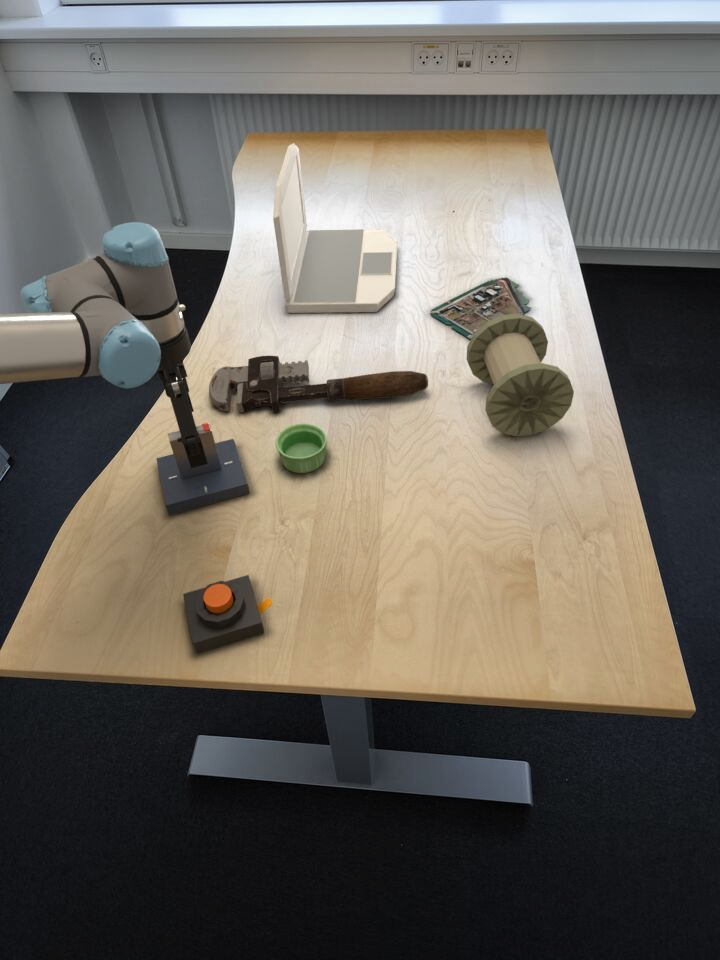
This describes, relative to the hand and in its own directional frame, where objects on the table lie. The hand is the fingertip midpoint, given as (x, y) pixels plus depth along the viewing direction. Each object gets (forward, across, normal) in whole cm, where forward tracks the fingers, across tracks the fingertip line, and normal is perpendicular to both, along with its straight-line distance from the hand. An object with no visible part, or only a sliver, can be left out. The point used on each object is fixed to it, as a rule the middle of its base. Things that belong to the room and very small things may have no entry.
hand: (192, 437), depth 121 cm
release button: (+6, -30, +2) cm, 30 cm away
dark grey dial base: (+10, 0, 0) cm, 10 cm away
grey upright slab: (+8, 0, 0) cm, 8 cm away
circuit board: (+11, +30, -67) cm, 74 cm away
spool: (+11, -2, -59) cm, 60 cm away
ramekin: (+10, -1, -18) cm, 21 cm away
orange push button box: (+10, -30, +2) cm, 31 cm away
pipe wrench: (+11, +17, -26) cm, 32 cm away
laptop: (+11, +56, -44) cm, 72 cm away
